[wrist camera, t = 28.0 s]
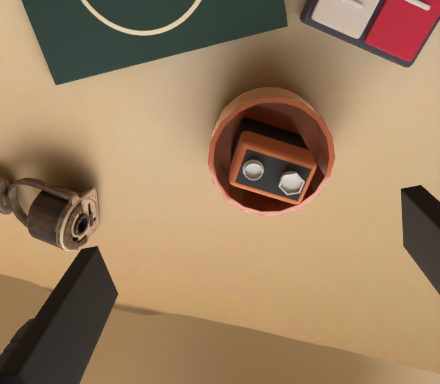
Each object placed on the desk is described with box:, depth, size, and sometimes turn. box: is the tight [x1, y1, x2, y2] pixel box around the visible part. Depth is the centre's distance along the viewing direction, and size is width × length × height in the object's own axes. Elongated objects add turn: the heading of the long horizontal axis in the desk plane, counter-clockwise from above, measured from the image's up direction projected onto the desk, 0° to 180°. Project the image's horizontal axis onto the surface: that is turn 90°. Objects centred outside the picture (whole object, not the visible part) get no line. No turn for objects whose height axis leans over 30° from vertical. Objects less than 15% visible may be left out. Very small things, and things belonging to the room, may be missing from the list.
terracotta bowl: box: [208, 87, 335, 216], centre depth 38 cm, size 12×12×6 cm
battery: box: [229, 118, 317, 204], centre depth 36 cm, size 4×7×10 cm, turn 73°
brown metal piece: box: [0, 177, 99, 251], centre depth 42 cm, size 7×13×10 cm
